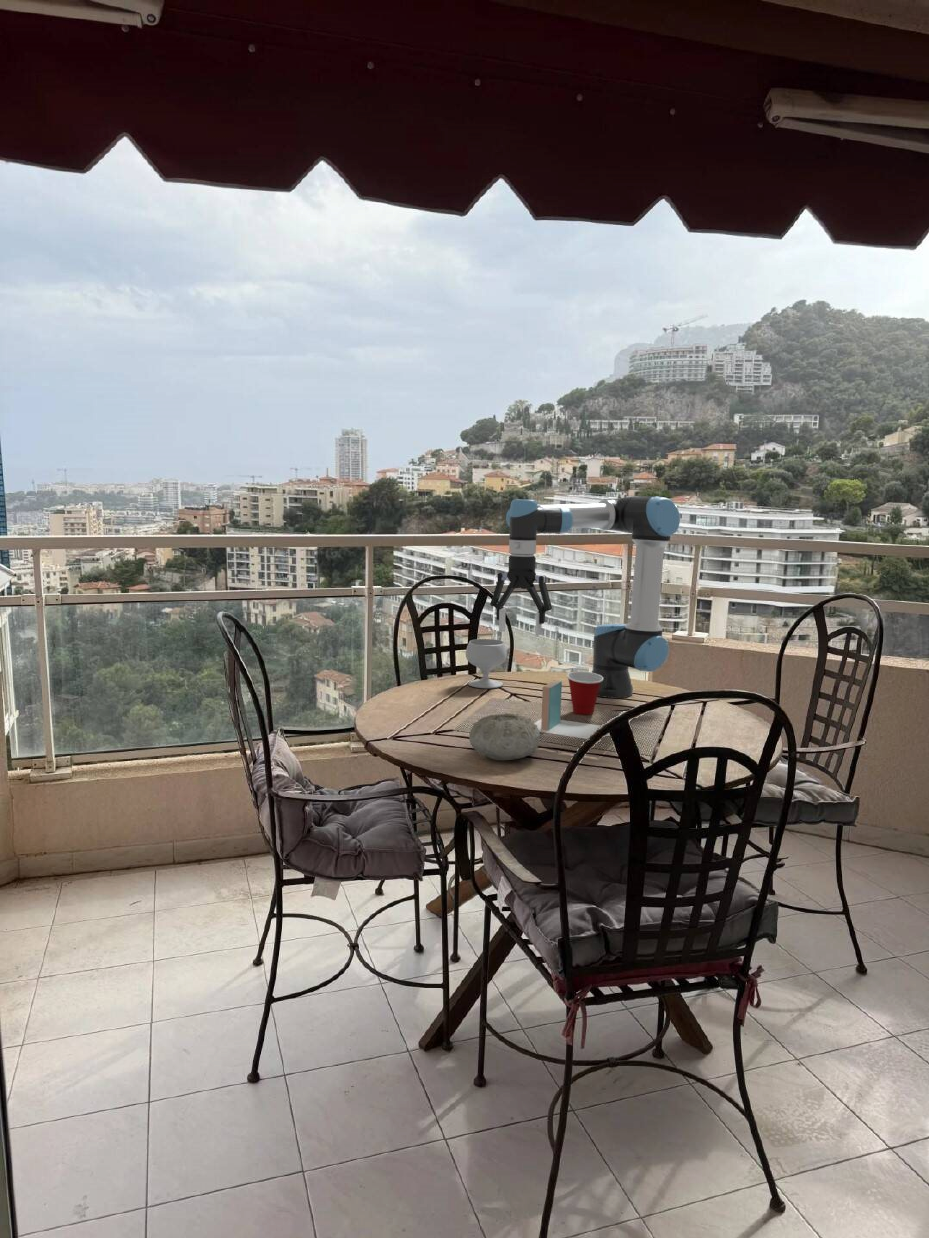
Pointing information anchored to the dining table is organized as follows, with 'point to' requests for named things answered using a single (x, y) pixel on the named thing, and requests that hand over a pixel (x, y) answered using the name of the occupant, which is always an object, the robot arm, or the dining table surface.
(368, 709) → the dining table surface
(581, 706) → the plastic cup
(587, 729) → the mat
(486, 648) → the chalice
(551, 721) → the tan flat block
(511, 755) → the grey rounded stone
